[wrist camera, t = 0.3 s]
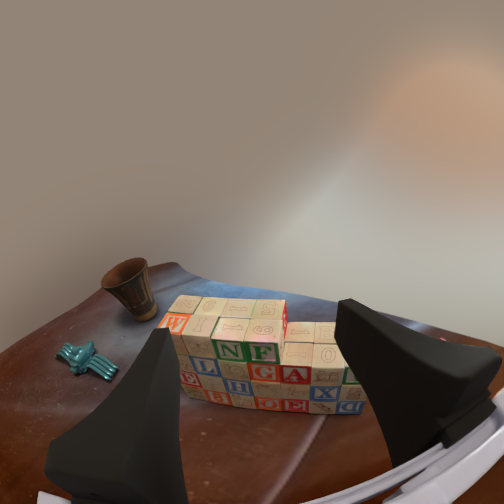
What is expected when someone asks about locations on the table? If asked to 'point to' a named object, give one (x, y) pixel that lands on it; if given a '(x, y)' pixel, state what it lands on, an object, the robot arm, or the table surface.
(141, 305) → the cup
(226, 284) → the table surface
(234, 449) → the table surface
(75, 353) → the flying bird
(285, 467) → the table surface
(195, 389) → the stack of blocks
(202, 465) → the table surface
